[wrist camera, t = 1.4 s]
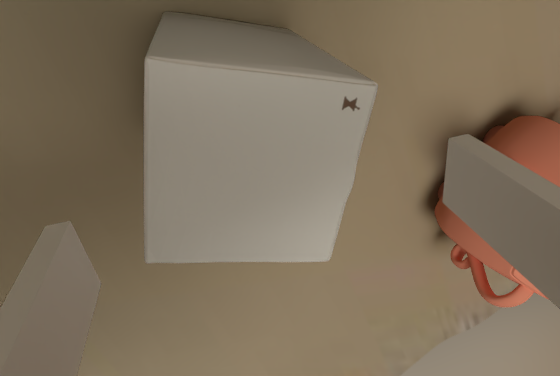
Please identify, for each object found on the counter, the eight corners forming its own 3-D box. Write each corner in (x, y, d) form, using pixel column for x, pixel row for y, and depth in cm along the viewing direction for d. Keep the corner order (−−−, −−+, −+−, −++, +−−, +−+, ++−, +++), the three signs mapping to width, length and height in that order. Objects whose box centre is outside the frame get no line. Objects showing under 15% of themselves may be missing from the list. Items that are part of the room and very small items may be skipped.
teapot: (419, 122, 34) (531, 194, 23) (586, 88, 36) (760, 140, 25) (410, 255, 41) (491, 356, 30) (548, 220, 43) (669, 304, 33)
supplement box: (159, 6, 25) (138, 45, 12) (292, 28, 28) (388, 78, 15) (156, 138, 29) (138, 269, 17) (272, 146, 32) (334, 266, 19)
